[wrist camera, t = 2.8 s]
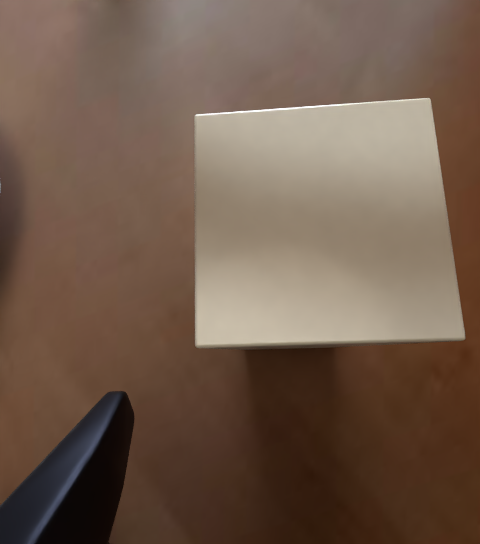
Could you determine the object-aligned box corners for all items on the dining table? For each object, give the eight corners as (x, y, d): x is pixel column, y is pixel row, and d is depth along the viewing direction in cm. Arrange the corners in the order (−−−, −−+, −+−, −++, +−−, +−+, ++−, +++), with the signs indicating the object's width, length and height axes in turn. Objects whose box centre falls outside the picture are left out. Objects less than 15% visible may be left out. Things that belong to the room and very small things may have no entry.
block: (335, 347, 19) (467, 340, 6) (244, 349, 19) (194, 348, 7) (328, 258, 20) (431, 96, 7) (241, 261, 20) (193, 113, 8)
